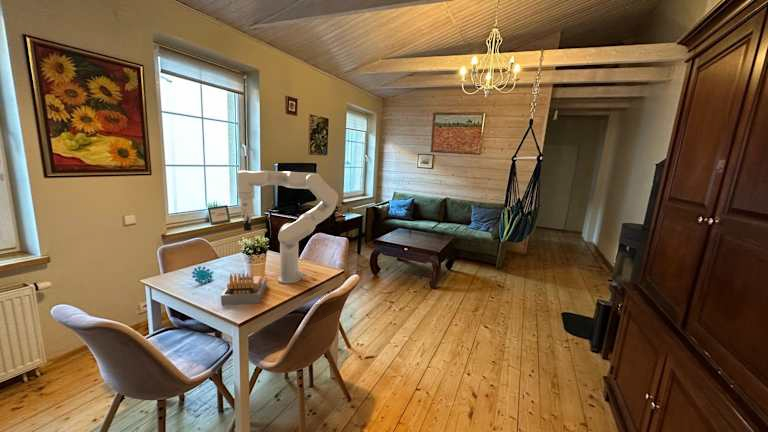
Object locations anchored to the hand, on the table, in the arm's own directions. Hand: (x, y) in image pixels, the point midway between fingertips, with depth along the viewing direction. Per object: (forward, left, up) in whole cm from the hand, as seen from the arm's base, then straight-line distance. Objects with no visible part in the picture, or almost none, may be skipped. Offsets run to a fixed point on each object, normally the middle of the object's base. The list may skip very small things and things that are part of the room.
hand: (247, 230), depth 159 cm
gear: (+23, -2, -28) cm, 37 cm away
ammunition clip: (-2, +23, -27) cm, 36 cm away
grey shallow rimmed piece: (-2, +16, -28) cm, 33 cm away
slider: (-2, +17, -26) cm, 32 cm away
